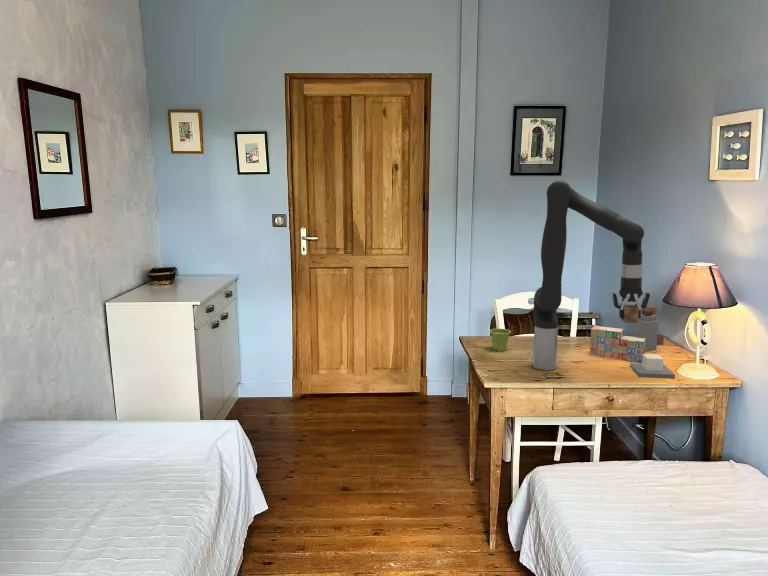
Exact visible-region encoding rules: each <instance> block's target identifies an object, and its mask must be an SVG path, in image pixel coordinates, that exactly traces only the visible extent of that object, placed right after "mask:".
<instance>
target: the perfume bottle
mask: <svg viewBox="0 0 768 576" xmlns="http://www.w3.org/2000/svg"><path fill="white" fill-rule="evenodd" d="M652 314H653V311H652V310H648V309H645V310H643V309H641V317H640V318H639V319H638V323H634V331H633V332H634V333H633V337H637V338H645V339H646V344H645V353H646V351H647V352H651V351H652V352H653V350H654V351H657V346H658V344H657V333H659V331H658V329H659V320H657V315H656V316H655V315H652ZM655 318H656V320H655Z"/></svg>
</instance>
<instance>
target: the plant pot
mask: <svg viewBox="0 0 768 576" xmlns="http://www.w3.org/2000/svg"><path fill="white" fill-rule="evenodd" d="M489 334H490V337H491V344H492V349H493V350H494V351H495V350H497V352H502V351H503V352H504V351H507V348H508V343H509V337H510V335H511V330H509V329H506V328H492V329H489Z"/></svg>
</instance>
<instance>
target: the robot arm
mask: <svg viewBox="0 0 768 576" xmlns="http://www.w3.org/2000/svg"><path fill="white" fill-rule="evenodd" d="M546 203H547V204H546V220H545V224H544V227H543V233H542V238H541V245H540V247H541V248H540V260H541V261H540V262H541V268H542V283H541V287H538V288H537V289H536V291H535V293H534V296H533V321H534V329H533V330H534V331H533V332H534V333H533V343H532V360H531V362H532V367H533V369H535V370H536V369H537V370H543V371H552V370H555V369H557V361H558V360H557V358H558V357H557V356H558V341H559V340H558V339H559V338H558V336H559V320H558V315H557V310H558V309H559V308H560V306H561V304H562V280H563V279H562V278H563V277H562V276H563V272H564V265H565V256H566V250H567V247H566V246H567V236H568V235H567V234H568V233H567V232H568V230H567V215H568V210H569V209H571V210H573V211H575V212H577V213H579V214H580V215H582V216H584V217H585V218H586V219H588V220H589V221H591V222H593V223H595V224H596V225H598V226H600V227H602V228H603V229H605V230H607V231H609V232H612V233H614V234H616V235H617V236H619V237H621V239H622V256H621V257H622V258H621V259H622V260H621V268H620V287H619V288H620V289H619V290H618V292H612V293H611V298H612V303H613V307H615V308H616V309H618V310H619V311H618V312H619V313H618V316H619V317H618V318H620V320H621V319H624V307H625V305H627V303H630V302H632V303H634V305H636V306H637V307H639V314H638V319H639V318H640V317H641V314H642V310H643V308H646V307H647V305H649V304H648V303H649V301H650V300H649V299H650V297H651V293H649V292H647V291H646V292H645V291H643V289H642V287H643V286H642V284H643V251H642V241H643V238H644V236H645V231H644V228H643V227H642V226H641V225H640V224H638V223H635V222H633V221H631V220H630V219H628V218H625V217H623V216H622V215H621V214H619V213H617V212H616V211H613V210H612V209H610V208H608V207H607V206H604V205H602V204H600V203H597V202H595V201H593V200H591V199H589V198H587V197H585V196H583V195H581V194H580V193H578V191H576V190H575V189H574V188H572V187H571V186H570V184H569V183H568V182H566V181H563V180H555V181H554V182H552V183H550V184H549V185H548V187H547V190H546ZM568 208H569V209H568ZM619 296H620V297H621V300H620V304H619V300H618V298H620V297H619ZM641 297H642V298H643V299H642V302H640V298H641Z"/></svg>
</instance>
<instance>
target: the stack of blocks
mask: <svg viewBox="0 0 768 576" xmlns="http://www.w3.org/2000/svg"><path fill="white" fill-rule="evenodd" d="M645 344H646V339H645V338H637V337H634V336H629V335H628V336H627V335H624V328H618V327H608V326H602V325H601V326H600V325H594V326H593V327H591V329H590V347H589V356H592V355H594V357H598V356H601V357H600V358H605V357H608V358H607V359H612V358H615V359H614V360H619V359H622V360H621V361H627V360H628V361H627V362H633V361H634V362H633V363H641V364H642V355H643V354H646V352H645Z"/></svg>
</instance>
